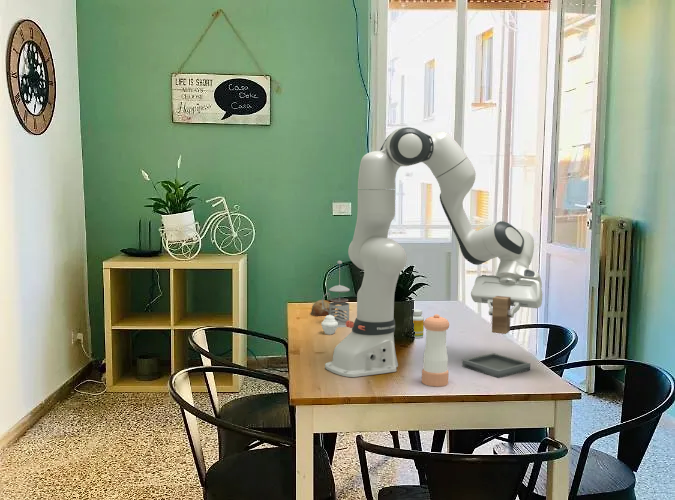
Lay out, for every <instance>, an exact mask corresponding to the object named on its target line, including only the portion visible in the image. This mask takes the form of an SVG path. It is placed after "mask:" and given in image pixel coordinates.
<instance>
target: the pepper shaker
mask: <svg viewBox="0 0 675 500" xmlns="http://www.w3.org/2000/svg"><path fill="white" fill-rule="evenodd" d="M449 328H450V322H449V320H448V319H447V318H445V317H443V316H441V315H439V314H438V313H435V314H434V315H433V316H429V317H427V318H426V319H424V329H426V331H425V332H426V333H425V334H426V335H425V347H424V353H423V357H422V358H423V366H422V367H423V368H422V369H421V383H422V384H423V385H426V386H430V387H444V386H445V387H446V386H448V384H449V374H450V373H449V370H448V362H449V356H448V349H447V330H449Z"/></svg>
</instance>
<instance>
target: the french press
mask: <svg viewBox="0 0 675 500" xmlns="http://www.w3.org/2000/svg"><path fill="white" fill-rule="evenodd" d="M336 264H337V265H338V264H339V269H338V271H339V273H338V274H339V275H338V276H339V278H338V279H339V280H338V281H339V282H338V285H334V286H332V287H330V288H329V289H328V290H329V292H326V293H325V294H324V295H323V296H322V299H321V300H322V306H324V304H323V300H325V299H324V298H325V297H326V295H328V297H331V292H333V293H338V298H336V297H334V298H330V299H329V300H330V301H329V302H331V303H330V304H329V310H328V311H327V309H326V308H325V307H323V308H325V309H326V311H327V312H329V315H332V316H334V317H335V320H336V321H337V322H338V326H337V328H347V327H346V321H348V320H349V321H350V303H349V301H350V300H349V298H341V297H340V296H341V295H340V294H341V293H348V292H350V288H348V287H347V286H344V285H341V284H340V283H341V281H340V280H341V264H343V261H342V260H337V262H336ZM335 308H336V309H335ZM334 309H335V310H334ZM334 312H335V313H334Z"/></svg>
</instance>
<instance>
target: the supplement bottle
mask: <svg viewBox="0 0 675 500" xmlns="http://www.w3.org/2000/svg"><path fill="white" fill-rule="evenodd" d="M413 310H414V316H413V323H414V331H415V335H414V336H415V338H414V339H422V338H423V337H424V329H425V327H424V321H425V318H424V316H423V310H422V309H417V308H416V309H413Z"/></svg>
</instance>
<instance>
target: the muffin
mask: <svg viewBox="0 0 675 500" xmlns="http://www.w3.org/2000/svg"><path fill="white" fill-rule="evenodd" d="M334 316H335V315H334ZM334 316H332V315H327V316H326V317H324V319H323V320H322V321H321V325H320V326H321V327H322V330H323V332H324V334H325V335H334V334H335V333H336V331H337V329H338V327H337V326H338V322H337V321H336V320H335V317H334Z"/></svg>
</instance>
